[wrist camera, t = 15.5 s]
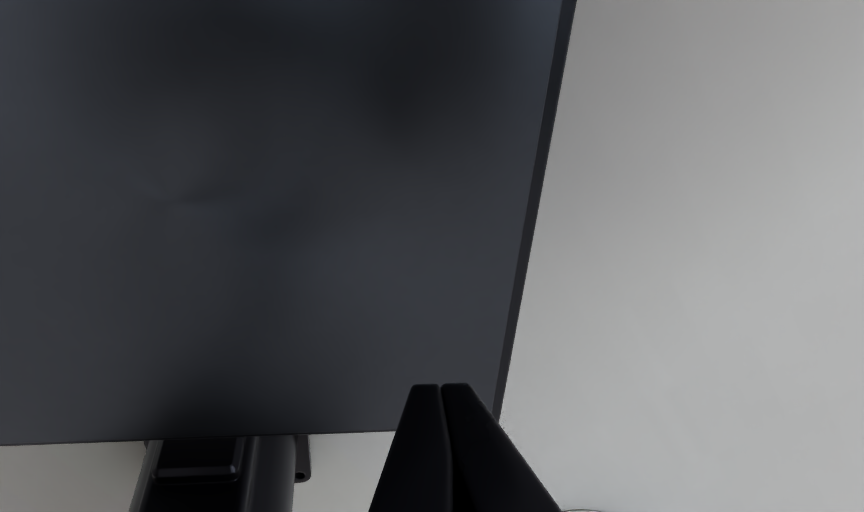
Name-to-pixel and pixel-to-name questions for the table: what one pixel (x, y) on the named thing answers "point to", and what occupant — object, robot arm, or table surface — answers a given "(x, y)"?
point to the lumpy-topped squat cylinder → (582, 511)
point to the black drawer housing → (264, 209)
